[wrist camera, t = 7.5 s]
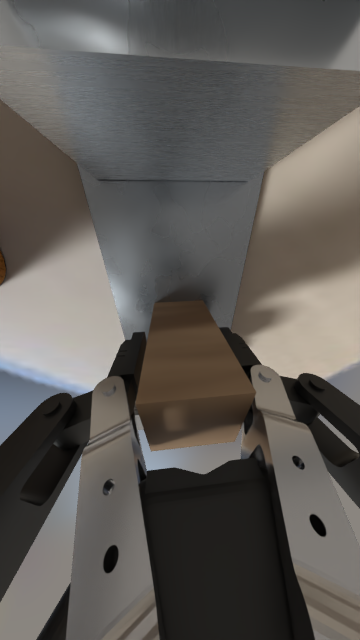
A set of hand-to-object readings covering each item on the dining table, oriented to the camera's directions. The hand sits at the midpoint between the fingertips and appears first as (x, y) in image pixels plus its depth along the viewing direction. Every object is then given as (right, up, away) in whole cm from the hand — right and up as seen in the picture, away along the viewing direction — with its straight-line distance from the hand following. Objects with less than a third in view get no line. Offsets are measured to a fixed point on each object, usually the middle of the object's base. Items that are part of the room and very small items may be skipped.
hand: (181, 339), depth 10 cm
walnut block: (0, +1, +2) cm, 3 cm away
